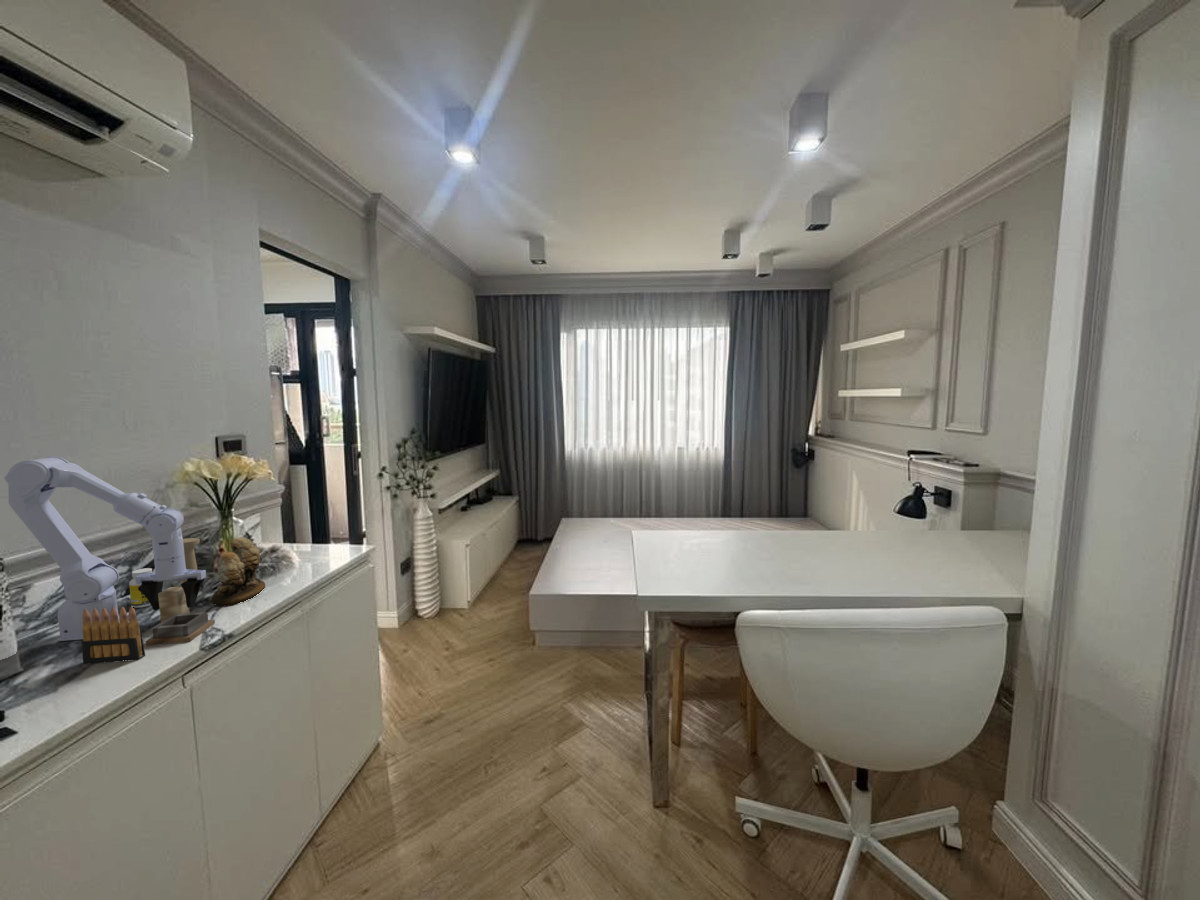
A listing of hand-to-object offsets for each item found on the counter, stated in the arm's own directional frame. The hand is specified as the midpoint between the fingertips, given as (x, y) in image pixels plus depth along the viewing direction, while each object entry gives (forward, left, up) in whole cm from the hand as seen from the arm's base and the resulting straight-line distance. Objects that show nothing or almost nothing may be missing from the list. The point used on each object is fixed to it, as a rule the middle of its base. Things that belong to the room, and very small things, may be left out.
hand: (175, 607), depth 119 cm
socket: (+7, -9, -3) cm, 12 cm away
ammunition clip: (0, -19, -4) cm, 20 cm away
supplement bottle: (-15, +12, -3) cm, 20 cm away
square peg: (0, 0, -3) cm, 3 cm away
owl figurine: (+7, +15, -4) cm, 17 cm away
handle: (-10, +22, -3) cm, 24 cm away
